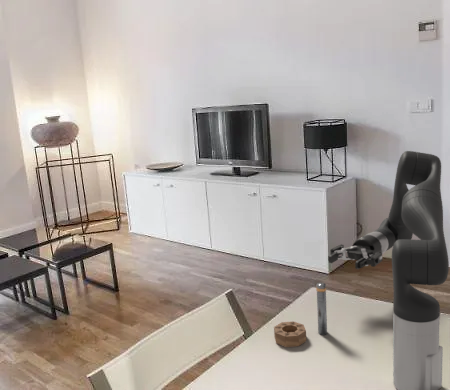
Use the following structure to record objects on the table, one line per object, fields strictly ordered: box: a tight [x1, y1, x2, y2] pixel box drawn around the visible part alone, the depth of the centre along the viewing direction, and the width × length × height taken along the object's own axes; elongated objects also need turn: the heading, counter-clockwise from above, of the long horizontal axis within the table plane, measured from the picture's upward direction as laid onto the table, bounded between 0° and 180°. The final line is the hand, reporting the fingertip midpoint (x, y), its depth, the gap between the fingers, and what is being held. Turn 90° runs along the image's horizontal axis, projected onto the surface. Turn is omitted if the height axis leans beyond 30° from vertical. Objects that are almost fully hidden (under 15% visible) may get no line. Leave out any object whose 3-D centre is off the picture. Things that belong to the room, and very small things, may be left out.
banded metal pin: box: [315, 282, 328, 336], centre depth 132 cm, size 3×3×14 cm
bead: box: [273, 320, 307, 348], centre depth 131 cm, size 8×8×3 cm
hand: (342, 262), depth 138 cm, fingers open, 8 cm apart
